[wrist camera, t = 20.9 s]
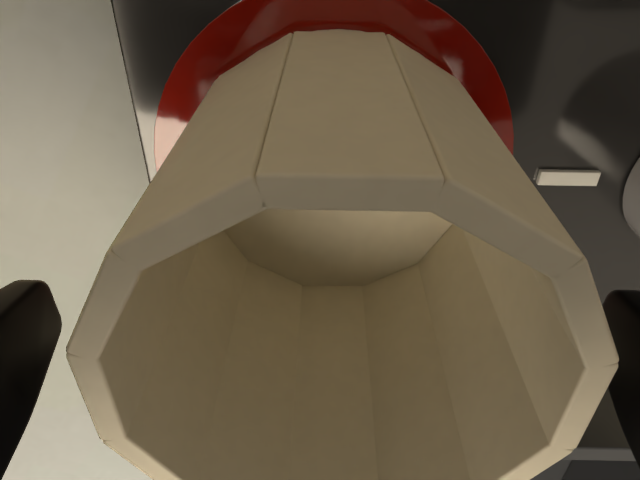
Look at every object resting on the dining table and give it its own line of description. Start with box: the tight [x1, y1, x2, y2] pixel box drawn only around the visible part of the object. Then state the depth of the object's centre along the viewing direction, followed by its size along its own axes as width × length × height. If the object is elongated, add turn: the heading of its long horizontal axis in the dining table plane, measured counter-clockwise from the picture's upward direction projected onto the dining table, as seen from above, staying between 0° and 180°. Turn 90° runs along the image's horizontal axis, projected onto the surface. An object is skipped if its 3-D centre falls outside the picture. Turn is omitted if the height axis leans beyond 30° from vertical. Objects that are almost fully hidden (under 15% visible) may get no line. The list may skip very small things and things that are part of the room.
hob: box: [111, 0, 640, 305], centre depth 13 cm, size 18×9×2 cm, turn 90°
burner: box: [154, 0, 514, 172], centre depth 12 cm, size 8×8×1 cm
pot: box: [66, 29, 619, 480], centre depth 9 cm, size 7×7×6 cm
